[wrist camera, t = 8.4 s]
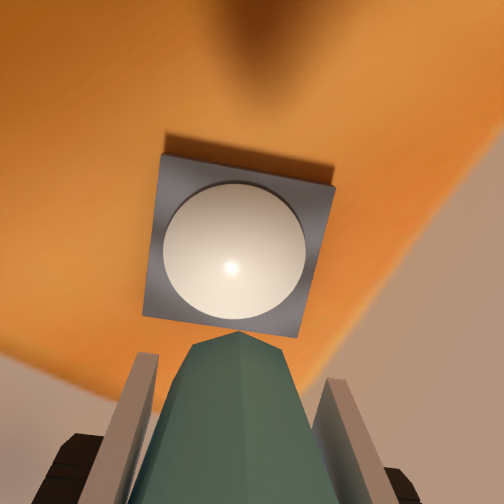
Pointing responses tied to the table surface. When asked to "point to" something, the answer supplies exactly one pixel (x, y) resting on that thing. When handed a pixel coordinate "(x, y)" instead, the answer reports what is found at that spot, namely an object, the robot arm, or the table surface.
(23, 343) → the table surface
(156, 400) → the table surface
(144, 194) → the table surface
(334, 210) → the table surface
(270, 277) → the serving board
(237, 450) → the cup
